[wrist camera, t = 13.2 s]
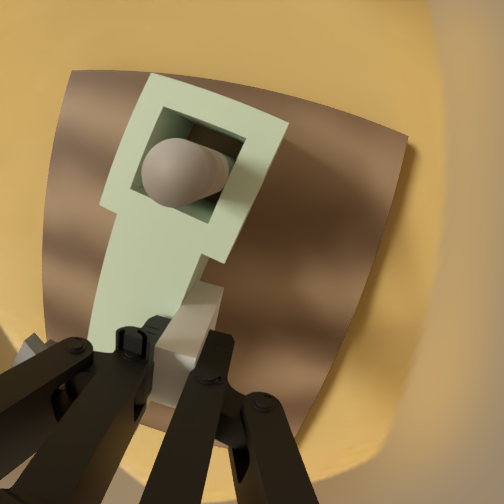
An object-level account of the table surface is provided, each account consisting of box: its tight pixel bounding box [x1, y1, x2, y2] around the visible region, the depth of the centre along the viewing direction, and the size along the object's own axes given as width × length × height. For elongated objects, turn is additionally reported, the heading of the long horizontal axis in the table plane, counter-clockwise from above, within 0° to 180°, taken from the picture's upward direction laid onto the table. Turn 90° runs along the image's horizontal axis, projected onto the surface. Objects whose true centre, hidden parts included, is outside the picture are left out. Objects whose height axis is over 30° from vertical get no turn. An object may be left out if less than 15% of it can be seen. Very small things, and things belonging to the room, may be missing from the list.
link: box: [87, 73, 289, 434], centre depth 15 cm, size 19×6×5 cm, turn 156°
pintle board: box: [12, 70, 408, 449], centre depth 14 cm, size 26×22×10 cm
